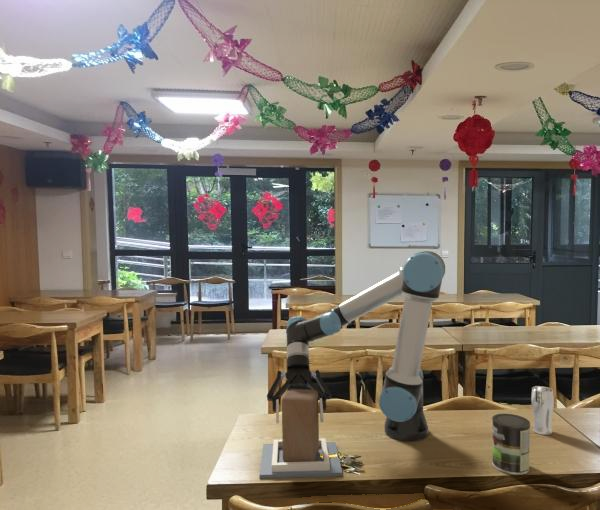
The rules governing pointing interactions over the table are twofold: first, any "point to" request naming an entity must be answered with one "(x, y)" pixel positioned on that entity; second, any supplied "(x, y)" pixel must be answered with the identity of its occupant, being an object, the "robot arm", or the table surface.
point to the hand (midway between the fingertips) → (299, 421)
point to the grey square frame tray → (279, 469)
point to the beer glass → (542, 409)
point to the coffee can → (511, 443)
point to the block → (300, 425)
